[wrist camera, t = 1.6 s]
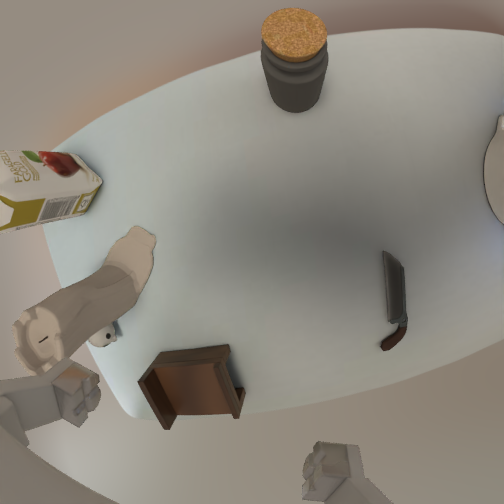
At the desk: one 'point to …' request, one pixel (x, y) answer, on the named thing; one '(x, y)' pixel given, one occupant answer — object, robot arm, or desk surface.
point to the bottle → (294, 57)
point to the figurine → (103, 336)
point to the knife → (395, 299)
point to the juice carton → (43, 188)
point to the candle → (84, 305)
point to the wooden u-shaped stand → (191, 384)
